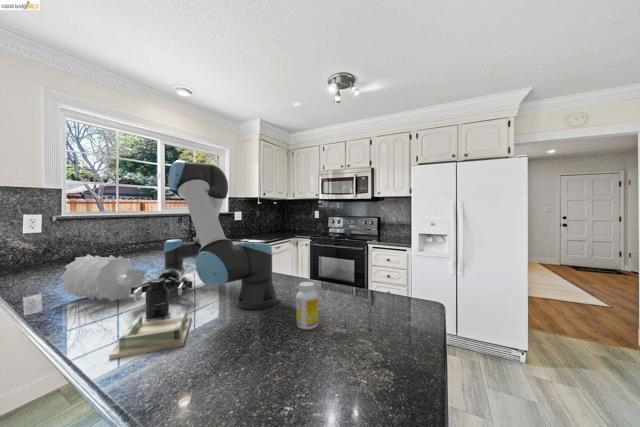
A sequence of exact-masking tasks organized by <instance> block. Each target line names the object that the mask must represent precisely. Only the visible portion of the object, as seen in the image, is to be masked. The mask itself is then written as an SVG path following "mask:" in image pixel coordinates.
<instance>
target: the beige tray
mask: <svg viewBox="0 0 640 427" xmlns="http://www.w3.org/2000/svg"><path fill="white" fill-rule="evenodd" d="M191 322H192V315H188V314H187V309H183V310H181V313H180V315H179V317H173V318H165V319H160V320H158V319H157V320H151V321H145V322H144V321H143V315H140V316H139V315H138V316H136V317H135V319H134V320H133V321H132V323H131V324H130V325H129V326H128V327H127V329H126V330H125V332H123V334H122V335H121V336H120V337H119V338H118V343H117V344H116V345H115V347H114V348H113V350H111V352H110V353H109V354H108V356H109V358H108V359H109V360H111V359H117V358H121V357H123V358H124V357H129V356H134V355H140V354H145V353H149V352H150V353H151V352H156V351H157V352H158V351H162V350H167V349H173V348H179V347H184V345H185V341H186V338H187V335H188V331H189V330H190V325H191Z"/></svg>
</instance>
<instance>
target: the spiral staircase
mask: <svg viewBox="0 0 640 427" xmlns="http://www.w3.org/2000/svg"><path fill="white" fill-rule="evenodd" d="M74 259H75V260H74V261H72V262H70V263H69V264H67V265H65V266H64V268H65V269H66V270H65V272H63V274H62V275H61V277H60V280H63V284H62V285H63V286H62V291H63V290H64V291H65V290H66V293H67V296H68V295H71V294H72V295H74V296H76V297H77V298H79V299H81V298H82V297H83V296H84V297H85V298H88V299H90V300H92V301H93V300H94V299H95V298H96V299H98V300H99V301H100V300H102V299H107V300H109V301H111V302H114V301H115V300H125V299H126V298H127V297H129V296H131V295H132V294H131V287H134V286H136V285H139V284H142V283H144V278H145V274H146V270H145V269H131V268H133V267H134V266H133V263H132V261H131V259H130V258H126V257H123V256H122V255H119V256H118V257H117V258H116V257H115V256H114V255H112V254H110V255H109V256H108V257H107V256H105V257H102V256H99V255H95V256H92V255H91V254H89V253H88V254H86V255H85V256H79V257H77V256H76V257H75V258H74Z"/></svg>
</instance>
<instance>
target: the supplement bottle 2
mask: <svg viewBox="0 0 640 427" xmlns="http://www.w3.org/2000/svg"><path fill="white" fill-rule="evenodd" d="M298 289H299V291H298V292H297V293H296V294H295V295H296V296H295V308H296V310H295V311H296V312H295V313H296V326H297V327H298V329H302V330H313V329H315V328H317V327H318V325H319V305H318V304H319V299H318V298H319V297H318V293H317V291H315V290H314V289H315V283H314V282H311V281H303V282H302V281H301V282H300V283H299V284H298Z"/></svg>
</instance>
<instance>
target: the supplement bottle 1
mask: <svg viewBox="0 0 640 427" xmlns="http://www.w3.org/2000/svg"><path fill="white" fill-rule="evenodd" d="M149 280H150V281H149ZM149 280H148V281H149V287H150V288H149V289H147V291H146V292H145V317H146V318H148V319H157V318H162V317H165V316H166V315H168V314H169V312H170V289H168V287H166V286H165V285H166V283H165V279H163V278H161V279H158V278H154V279H149ZM164 315H165V316H164Z"/></svg>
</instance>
